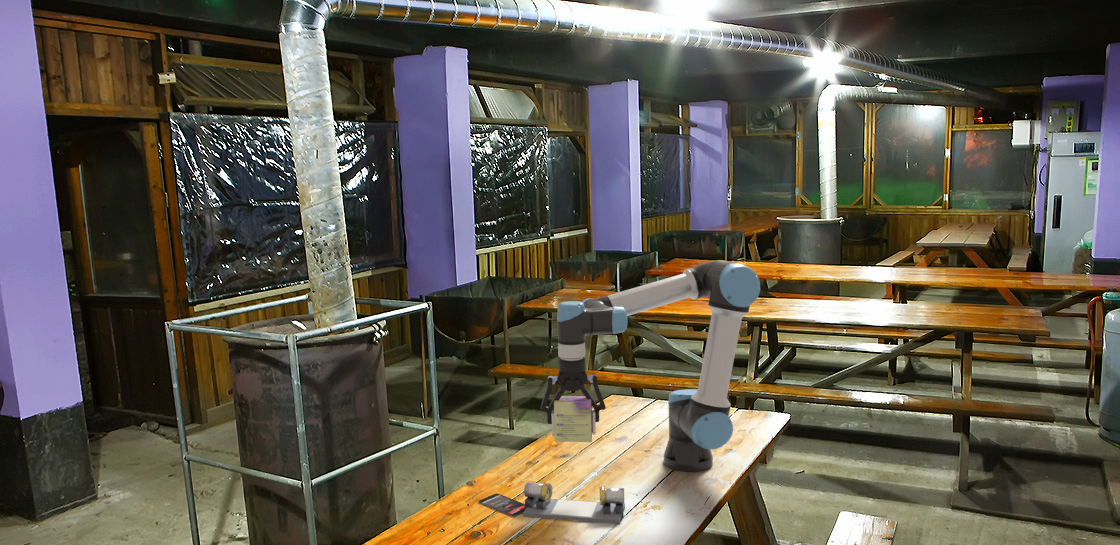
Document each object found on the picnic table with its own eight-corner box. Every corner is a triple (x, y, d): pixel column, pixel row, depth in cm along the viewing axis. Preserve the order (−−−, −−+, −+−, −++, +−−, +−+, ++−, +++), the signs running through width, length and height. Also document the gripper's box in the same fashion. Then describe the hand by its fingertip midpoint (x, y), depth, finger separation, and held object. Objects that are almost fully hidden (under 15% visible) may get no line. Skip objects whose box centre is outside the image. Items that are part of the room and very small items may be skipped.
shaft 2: (624, 509, 206) (623, 483, 205) (624, 517, 202) (624, 490, 201) (600, 509, 207) (599, 483, 206) (600, 517, 202) (599, 491, 201)
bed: (624, 507, 208) (624, 503, 208) (619, 523, 198) (619, 519, 198) (532, 500, 214) (532, 497, 214) (523, 516, 204) (523, 512, 204)
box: (592, 435, 217) (591, 395, 215) (591, 442, 211) (591, 401, 210) (556, 435, 218) (554, 395, 216) (554, 442, 212) (553, 401, 211)
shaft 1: (552, 506, 210) (552, 480, 209) (545, 513, 205) (545, 487, 204) (531, 503, 212) (530, 477, 211) (524, 510, 208) (523, 484, 207)
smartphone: (513, 516, 204) (477, 501, 214) (513, 519, 204) (477, 503, 214) (533, 507, 209) (496, 492, 219) (533, 509, 209) (496, 495, 219)
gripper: (611, 352, 216) (613, 427, 218) (529, 355, 215) (532, 431, 217) (615, 359, 208) (616, 436, 211) (530, 362, 207) (532, 440, 210)
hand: (573, 433), depth 214 cm, fingers closed on box, 11 cm apart
